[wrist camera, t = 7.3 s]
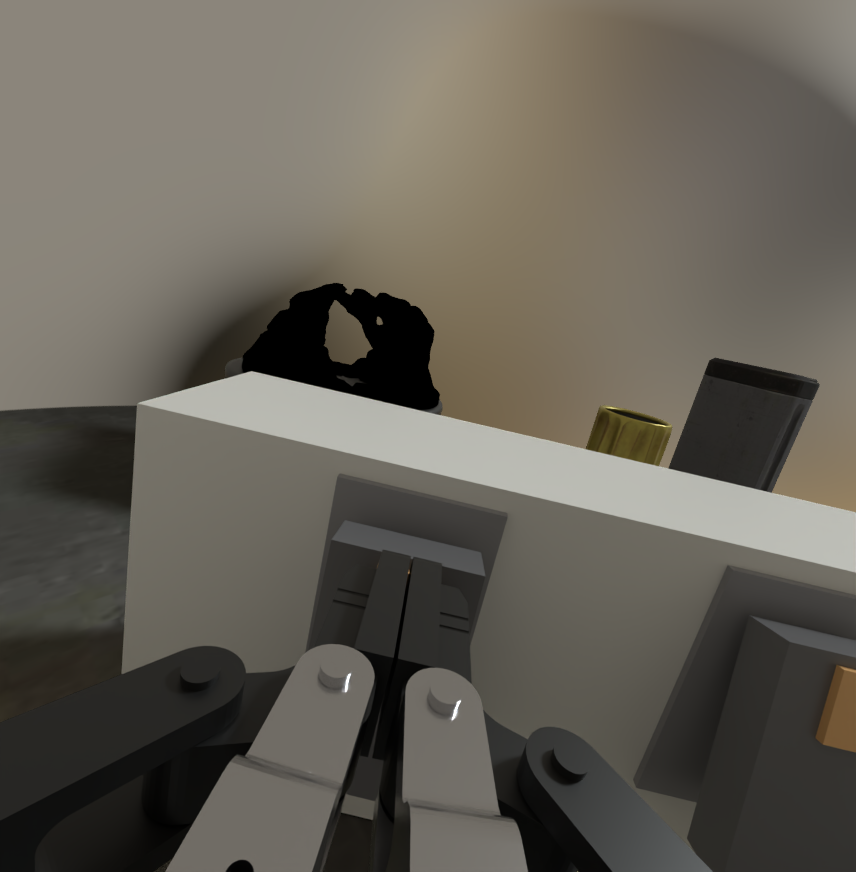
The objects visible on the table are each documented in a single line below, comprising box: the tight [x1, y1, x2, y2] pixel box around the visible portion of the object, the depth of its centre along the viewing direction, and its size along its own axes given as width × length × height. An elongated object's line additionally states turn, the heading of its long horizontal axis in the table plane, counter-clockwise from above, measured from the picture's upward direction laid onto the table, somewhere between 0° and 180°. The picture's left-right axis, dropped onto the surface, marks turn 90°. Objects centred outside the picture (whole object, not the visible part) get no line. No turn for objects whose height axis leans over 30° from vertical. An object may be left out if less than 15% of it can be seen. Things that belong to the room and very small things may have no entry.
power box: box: [122, 371, 856, 854], centre depth 20 cm, size 8×30×14 cm, turn 86°
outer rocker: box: [308, 520, 485, 801], centre depth 13 cm, size 2×4×7 cm, turn 86°
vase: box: [586, 405, 672, 466], centre depth 37 cm, size 6×6×14 cm
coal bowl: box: [225, 283, 442, 415], centre depth 45 cm, size 20×20×19 cm
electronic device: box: [668, 358, 819, 493], centre depth 51 cm, size 9×6×20 cm, turn 26°
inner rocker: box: [687, 615, 856, 872], centre depth 13 cm, size 2×4×7 cm, turn 86°
